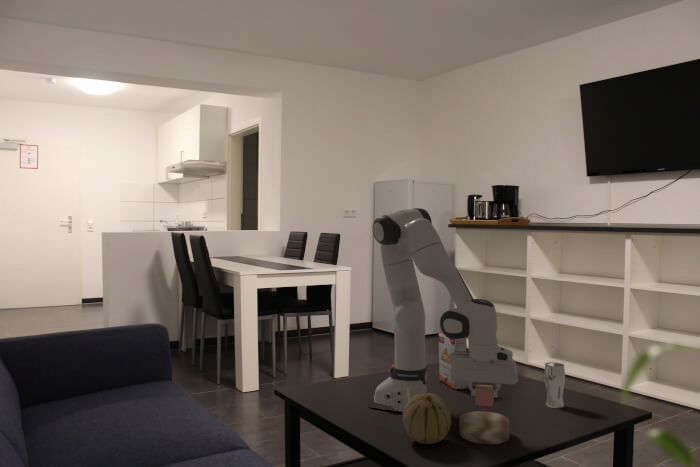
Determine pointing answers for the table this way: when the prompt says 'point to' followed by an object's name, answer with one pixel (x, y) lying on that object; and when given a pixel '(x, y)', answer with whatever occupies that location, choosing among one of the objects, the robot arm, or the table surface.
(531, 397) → the table surface
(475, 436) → the birch pedestal
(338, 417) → the table surface
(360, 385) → the table surface
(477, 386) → the terracotta cube
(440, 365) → the cracker box
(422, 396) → the cantaloupe
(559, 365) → the beer glass
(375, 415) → the table surface
